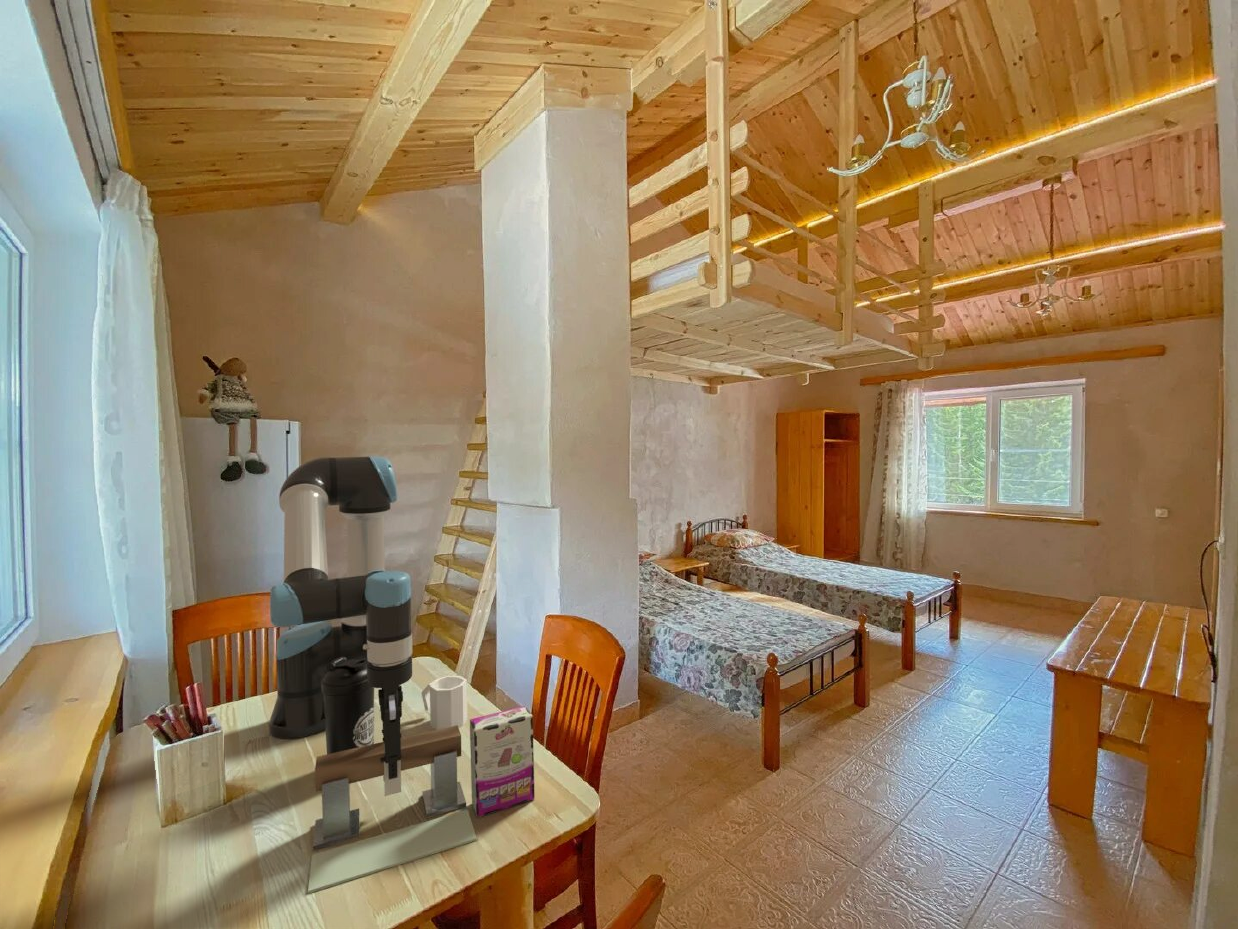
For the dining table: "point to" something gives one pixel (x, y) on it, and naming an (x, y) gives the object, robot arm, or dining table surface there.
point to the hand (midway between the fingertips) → (392, 785)
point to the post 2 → (443, 786)
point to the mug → (446, 702)
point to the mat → (389, 850)
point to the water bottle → (348, 705)
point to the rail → (367, 758)
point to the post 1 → (336, 816)
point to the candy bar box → (501, 760)
